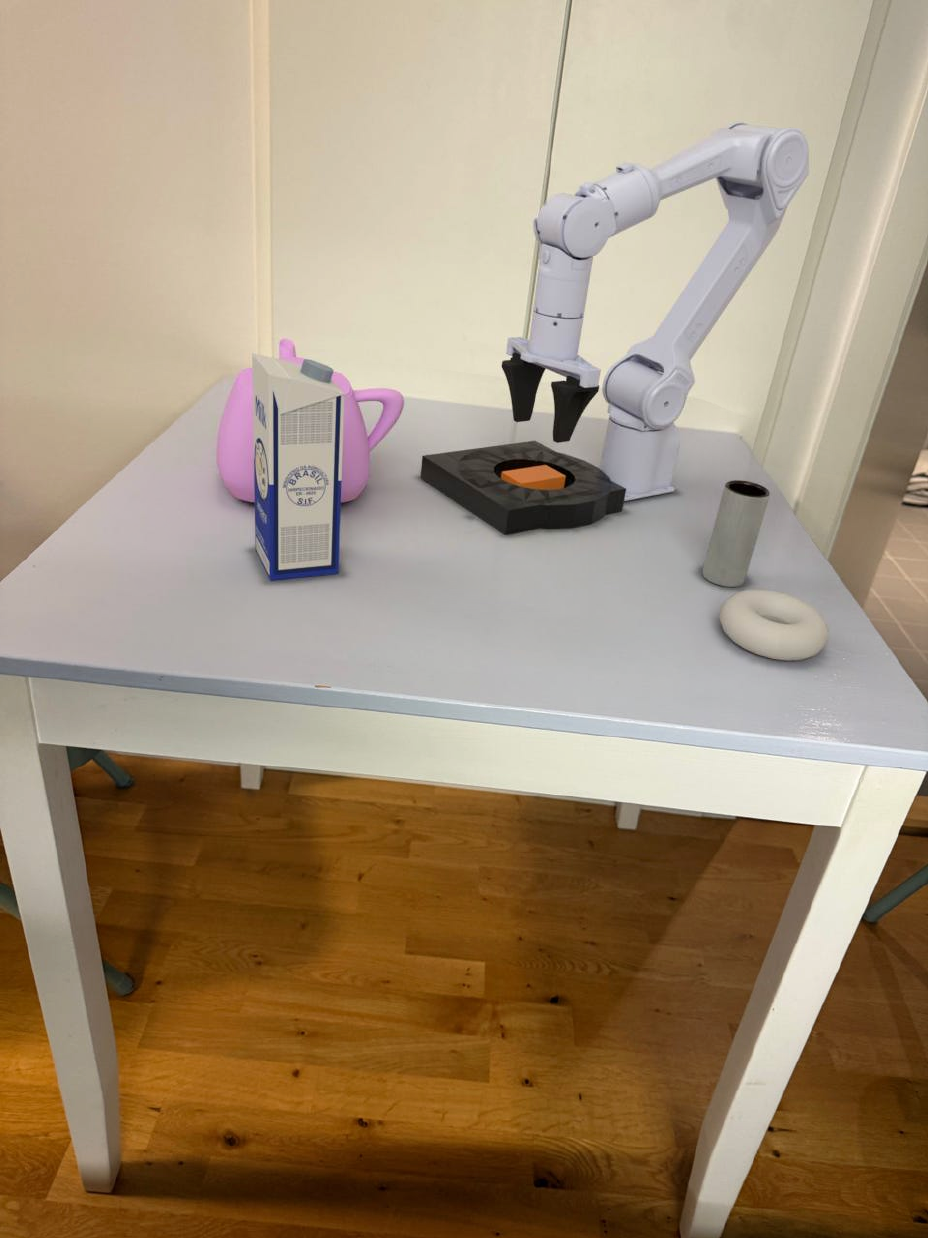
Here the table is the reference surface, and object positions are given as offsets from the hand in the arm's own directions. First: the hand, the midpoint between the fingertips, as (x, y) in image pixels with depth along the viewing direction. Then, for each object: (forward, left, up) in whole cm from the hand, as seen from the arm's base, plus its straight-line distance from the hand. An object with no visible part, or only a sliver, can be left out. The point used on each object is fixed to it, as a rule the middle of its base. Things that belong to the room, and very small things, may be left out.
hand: (541, 430), depth 107 cm
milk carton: (+34, +5, -9) cm, 35 cm away
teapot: (+26, -13, -9) cm, 30 cm away
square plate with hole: (0, 0, -8) cm, 8 cm away
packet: (0, 0, -8) cm, 8 cm away
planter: (-6, +26, -9) cm, 28 cm away
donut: (0, +37, -9) cm, 38 cm away
